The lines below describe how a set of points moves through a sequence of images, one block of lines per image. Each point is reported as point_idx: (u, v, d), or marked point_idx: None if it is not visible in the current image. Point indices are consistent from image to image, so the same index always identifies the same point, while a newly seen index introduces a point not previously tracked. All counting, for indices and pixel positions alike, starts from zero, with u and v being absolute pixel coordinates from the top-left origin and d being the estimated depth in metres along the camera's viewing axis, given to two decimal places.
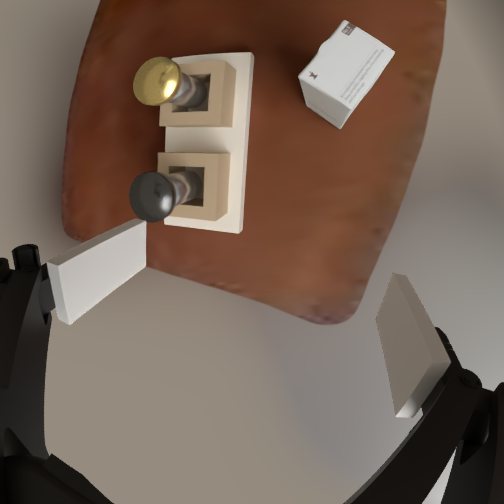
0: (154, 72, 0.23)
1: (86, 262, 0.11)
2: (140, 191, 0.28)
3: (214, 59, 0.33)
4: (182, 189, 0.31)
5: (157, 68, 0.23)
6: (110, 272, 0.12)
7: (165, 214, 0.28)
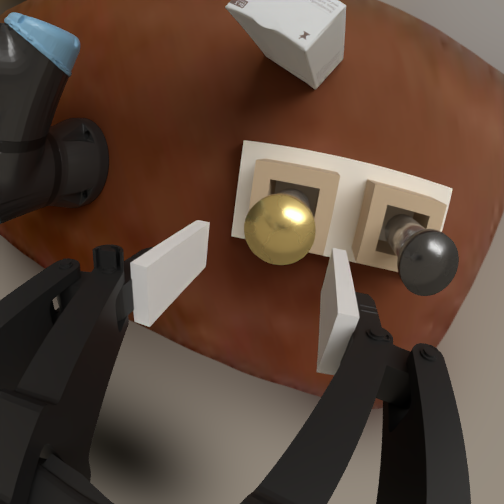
0: (267, 230, 0.21)
1: (167, 263, 0.12)
2: (420, 276, 0.19)
3: (245, 183, 0.34)
4: (419, 228, 0.22)
5: (262, 225, 0.21)
6: (182, 273, 0.14)
7: (454, 247, 0.18)
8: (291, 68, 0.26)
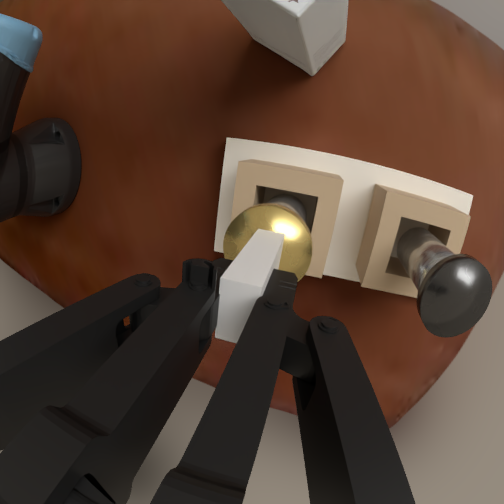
0: None
1: None
2: (444, 315, 0.14)
3: (229, 189, 0.28)
4: (443, 249, 0.16)
5: (245, 243, 0.17)
6: None
7: (488, 277, 0.13)
8: (283, 50, 0.21)
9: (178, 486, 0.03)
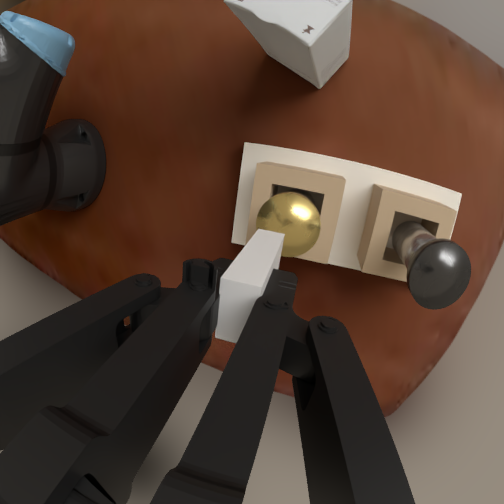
0: (277, 224, 0.23)
1: None
2: (430, 289, 0.18)
3: (246, 187, 0.32)
4: (429, 237, 0.20)
5: (272, 220, 0.23)
6: None
7: (466, 258, 0.16)
8: (294, 66, 0.25)
9: (178, 486, 0.03)
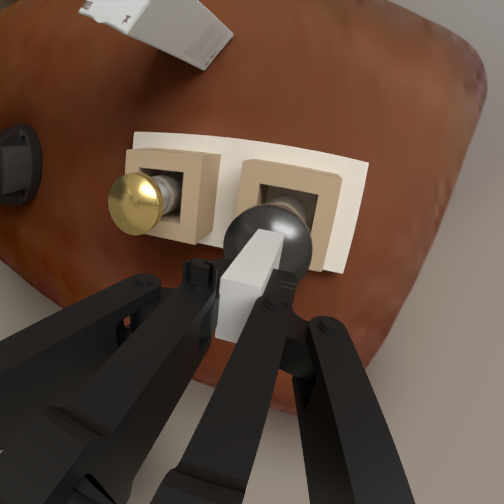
0: (123, 204, 0.22)
1: None
2: None
3: None
4: None
5: (119, 200, 0.22)
6: None
7: (300, 226, 0.16)
8: None
9: (178, 486, 0.03)
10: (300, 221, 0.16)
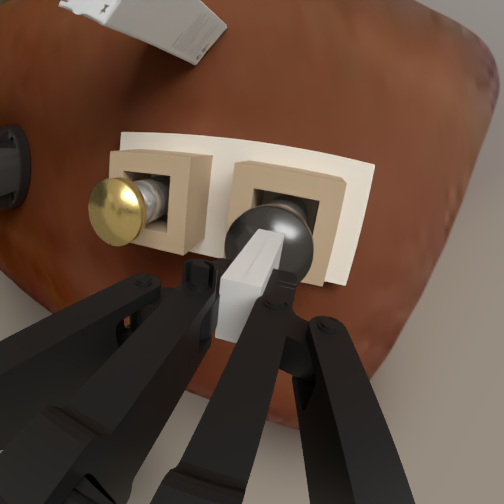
0: (103, 212, 0.20)
1: None
2: None
3: None
4: None
5: (99, 208, 0.20)
6: None
7: (301, 226, 0.16)
8: None
9: (178, 486, 0.03)
10: (301, 222, 0.16)
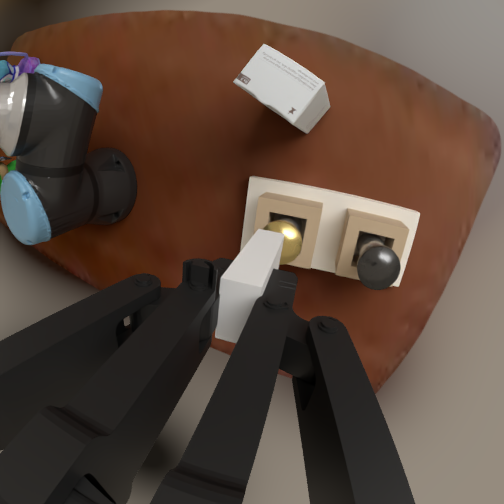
0: None
1: None
2: (372, 276, 0.31)
3: (251, 211, 0.44)
4: (376, 243, 0.34)
5: None
6: None
7: (396, 256, 0.30)
8: None
9: (178, 486, 0.03)
10: None
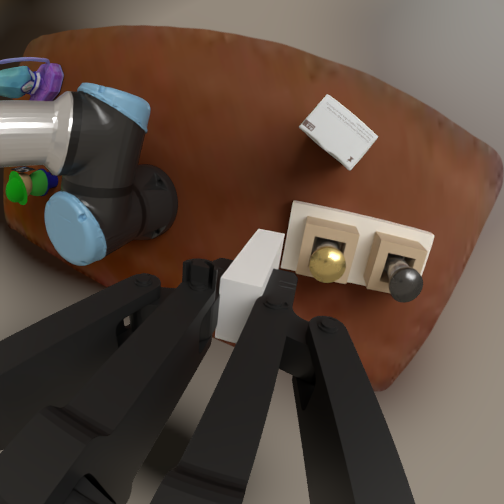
0: (321, 265, 0.40)
1: None
2: (400, 292, 0.37)
3: (293, 232, 0.49)
4: (402, 264, 0.39)
5: (319, 262, 0.40)
6: None
7: (420, 276, 0.36)
8: None
9: (178, 486, 0.03)
10: None
